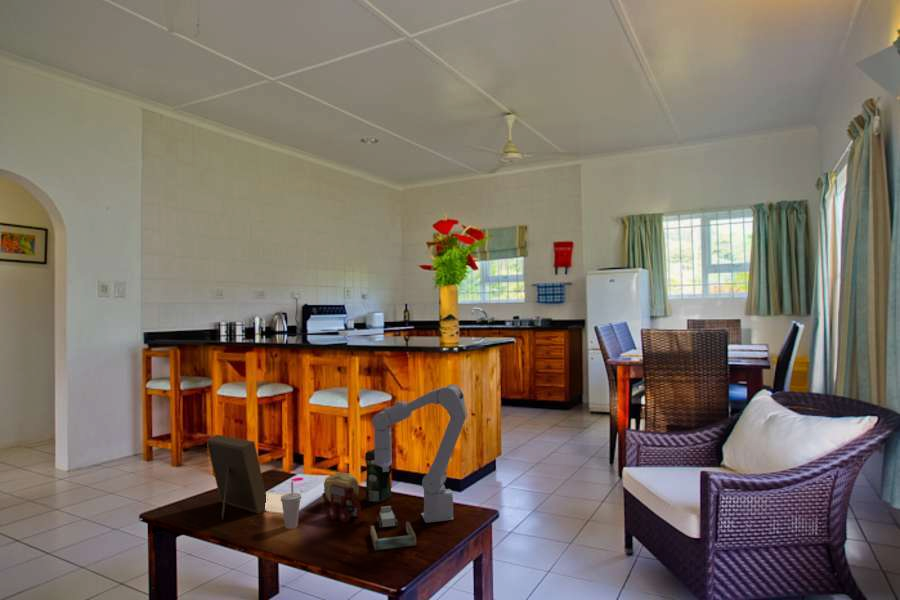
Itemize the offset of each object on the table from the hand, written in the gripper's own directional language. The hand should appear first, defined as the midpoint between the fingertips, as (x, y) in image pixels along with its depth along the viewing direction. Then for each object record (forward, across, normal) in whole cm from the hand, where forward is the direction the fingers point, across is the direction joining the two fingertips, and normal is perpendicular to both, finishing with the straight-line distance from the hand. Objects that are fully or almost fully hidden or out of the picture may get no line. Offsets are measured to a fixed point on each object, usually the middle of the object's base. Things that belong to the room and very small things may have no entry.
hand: (383, 487), depth 179 cm
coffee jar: (+9, -16, 0) cm, 18 cm away
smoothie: (+9, +2, -30) cm, 31 cm away
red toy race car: (+9, -1, -13) cm, 16 cm away
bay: (+9, +21, 0) cm, 23 cm away
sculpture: (+9, -16, -13) cm, 23 cm away
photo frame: (+9, -19, -51) cm, 55 cm away
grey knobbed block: (+9, +9, 0) cm, 13 cm away
